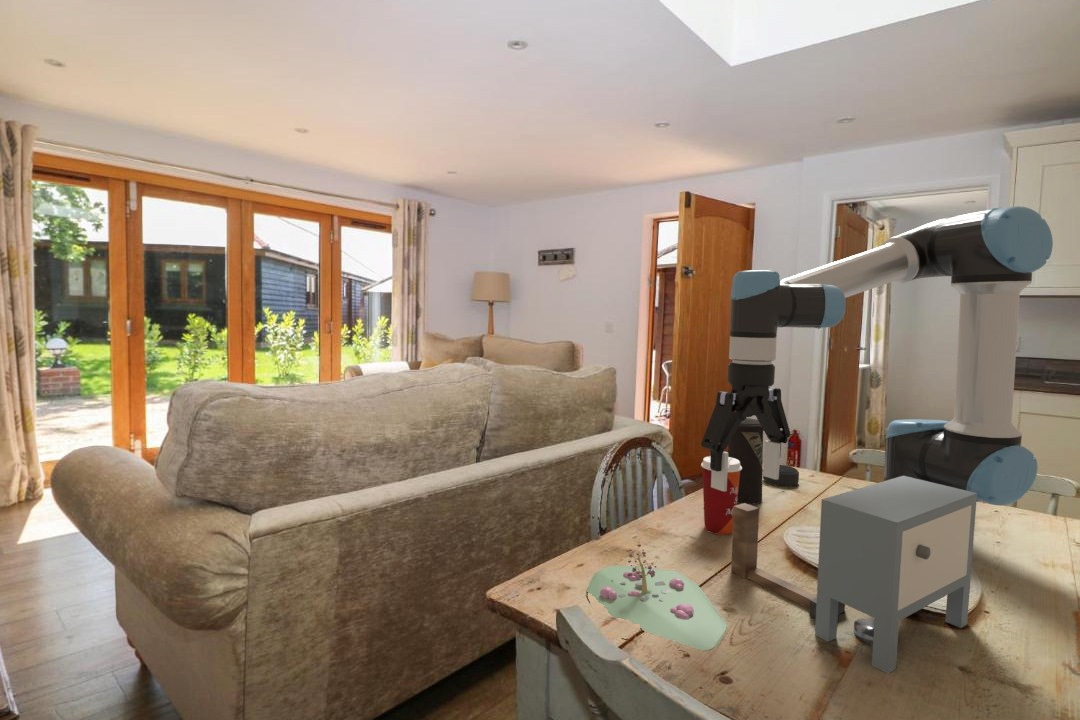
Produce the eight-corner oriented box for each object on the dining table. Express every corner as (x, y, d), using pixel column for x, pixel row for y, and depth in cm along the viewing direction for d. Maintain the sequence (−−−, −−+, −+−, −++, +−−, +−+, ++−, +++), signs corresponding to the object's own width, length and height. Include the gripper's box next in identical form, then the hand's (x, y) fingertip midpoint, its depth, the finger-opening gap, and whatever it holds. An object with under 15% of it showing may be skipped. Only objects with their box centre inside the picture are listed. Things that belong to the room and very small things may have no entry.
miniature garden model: (768, 620, 85) (770, 563, 84) (679, 672, 73) (680, 606, 72) (645, 561, 105) (646, 514, 105) (559, 594, 93) (560, 541, 92)
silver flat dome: (865, 624, 84) (866, 614, 84) (901, 641, 79) (902, 631, 79) (846, 634, 81) (847, 624, 81) (882, 652, 77) (882, 642, 77)
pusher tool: (725, 573, 99) (727, 507, 98) (747, 565, 102) (750, 501, 101) (821, 622, 84) (825, 544, 83) (844, 611, 87) (848, 536, 86)
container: (758, 507, 132) (762, 424, 130) (720, 500, 137) (722, 419, 135) (765, 497, 139) (769, 418, 138) (728, 491, 144) (731, 414, 142)
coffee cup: (742, 538, 114) (745, 466, 113) (700, 535, 116) (702, 464, 115) (736, 523, 123) (739, 455, 121) (697, 520, 124) (699, 453, 123)
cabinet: (895, 594, 92) (903, 475, 90) (975, 627, 83) (985, 495, 81) (814, 634, 81) (821, 499, 79) (896, 678, 71) (905, 525, 69)
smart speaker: (764, 486, 149) (765, 471, 148) (761, 476, 157) (761, 462, 157) (801, 489, 146) (801, 474, 146) (795, 479, 155) (796, 465, 155)
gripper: (778, 357, 106) (772, 468, 108) (682, 362, 93) (677, 487, 95) (815, 361, 99) (808, 478, 101) (718, 366, 86) (712, 501, 88)
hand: (745, 483), depth 98 cm, fingers open, 13 cm apart
